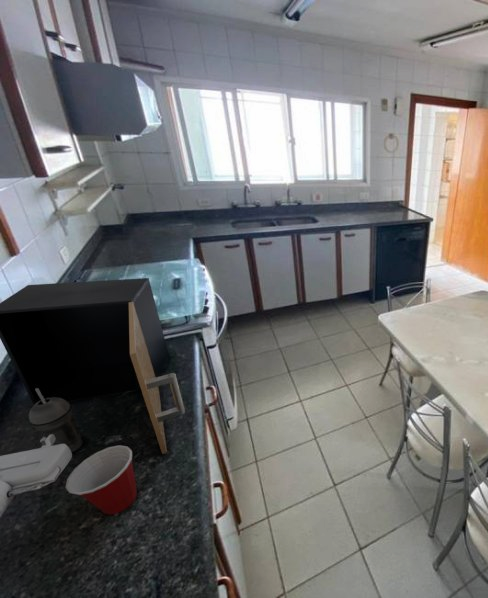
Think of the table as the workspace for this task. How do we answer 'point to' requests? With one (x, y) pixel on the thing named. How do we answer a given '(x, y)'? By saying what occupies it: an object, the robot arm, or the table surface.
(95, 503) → the plastic cup
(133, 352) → the fridge door
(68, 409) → the beverage cup
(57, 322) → the box
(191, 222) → the table surface
